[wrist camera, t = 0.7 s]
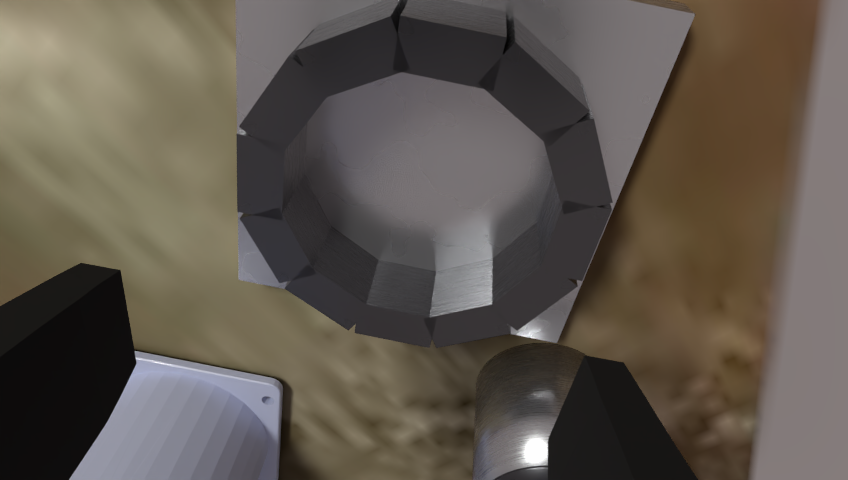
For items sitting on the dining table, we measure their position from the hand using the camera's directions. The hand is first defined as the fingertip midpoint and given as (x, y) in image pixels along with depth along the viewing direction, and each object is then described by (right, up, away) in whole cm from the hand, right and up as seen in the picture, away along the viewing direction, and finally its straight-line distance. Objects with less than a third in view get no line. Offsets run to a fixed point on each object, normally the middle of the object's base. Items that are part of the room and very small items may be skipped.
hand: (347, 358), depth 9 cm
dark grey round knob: (+6, -4, +14) cm, 15 cm away
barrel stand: (+1, +4, +8) cm, 10 cm away
